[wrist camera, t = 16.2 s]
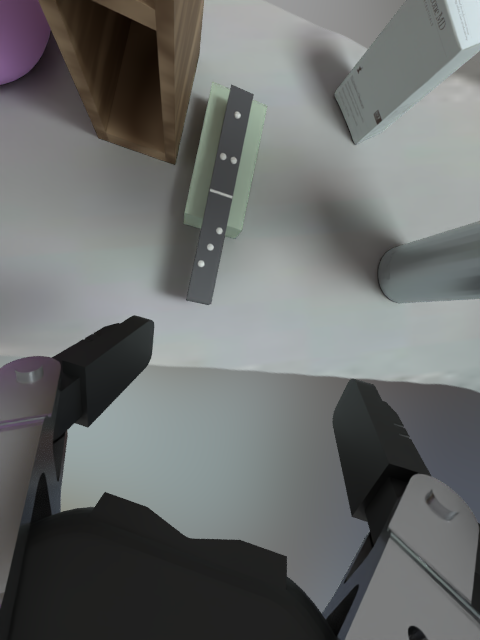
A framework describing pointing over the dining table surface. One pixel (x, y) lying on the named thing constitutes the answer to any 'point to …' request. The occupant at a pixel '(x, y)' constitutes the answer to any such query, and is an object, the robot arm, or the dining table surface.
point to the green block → (208, 156)
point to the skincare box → (408, 62)
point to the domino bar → (220, 196)
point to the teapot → (21, 37)
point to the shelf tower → (131, 66)
